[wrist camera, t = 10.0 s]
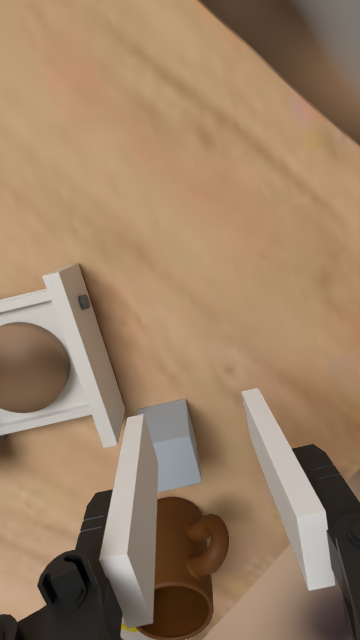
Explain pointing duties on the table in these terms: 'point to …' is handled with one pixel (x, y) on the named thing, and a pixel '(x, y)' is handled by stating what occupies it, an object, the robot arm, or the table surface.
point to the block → (173, 444)
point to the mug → (184, 569)
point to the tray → (84, 354)
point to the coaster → (30, 367)
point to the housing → (2, 438)
